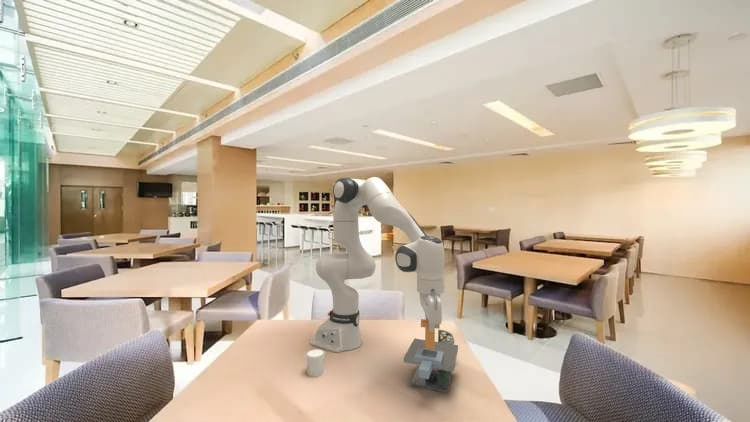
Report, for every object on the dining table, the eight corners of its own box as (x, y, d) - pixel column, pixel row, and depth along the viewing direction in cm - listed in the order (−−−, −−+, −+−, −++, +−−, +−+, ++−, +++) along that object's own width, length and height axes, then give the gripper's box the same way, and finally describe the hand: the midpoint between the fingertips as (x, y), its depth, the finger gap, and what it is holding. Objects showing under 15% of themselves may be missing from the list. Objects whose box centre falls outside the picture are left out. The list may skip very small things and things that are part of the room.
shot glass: (328, 369, 112) (328, 350, 112) (319, 379, 106) (319, 358, 106) (311, 365, 115) (312, 347, 115) (301, 375, 108) (301, 355, 108)
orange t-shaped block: (420, 348, 100) (420, 322, 100) (420, 344, 103) (421, 319, 103) (439, 350, 99) (439, 324, 99) (439, 346, 102) (439, 320, 102)
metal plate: (403, 387, 101) (403, 357, 101) (414, 364, 116) (414, 338, 116) (453, 398, 96) (453, 366, 96) (457, 372, 111) (458, 345, 111)
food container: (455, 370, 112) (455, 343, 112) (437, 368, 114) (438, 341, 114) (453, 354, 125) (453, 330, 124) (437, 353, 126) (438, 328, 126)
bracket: (409, 375, 93) (409, 365, 93) (418, 356, 105) (418, 347, 105) (437, 381, 90) (437, 370, 90) (443, 360, 102) (443, 351, 102)
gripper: (447, 295, 90) (446, 341, 91) (434, 279, 111) (433, 317, 111) (425, 294, 91) (425, 341, 91) (416, 278, 111) (416, 317, 111)
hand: (430, 328), depth 101 cm, fingers closed on orange t-shaped block, 3 cm apart
